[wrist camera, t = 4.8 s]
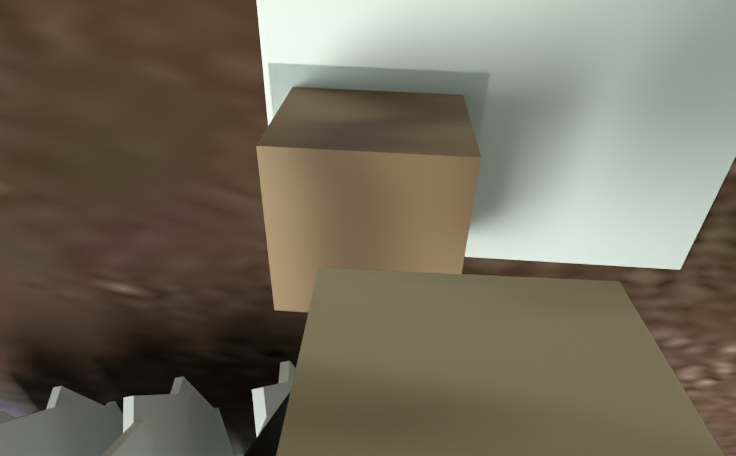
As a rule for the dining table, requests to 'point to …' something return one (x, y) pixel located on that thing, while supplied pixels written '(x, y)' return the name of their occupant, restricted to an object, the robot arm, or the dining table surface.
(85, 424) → the spiral staircase
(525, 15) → the white board
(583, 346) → the maple cube
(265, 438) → the robot arm
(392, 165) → the walnut block
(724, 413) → the dining table surface
